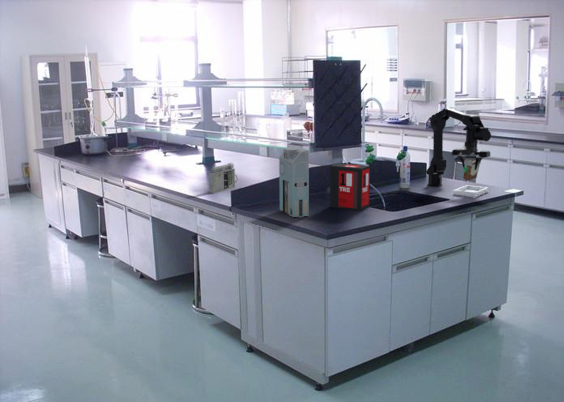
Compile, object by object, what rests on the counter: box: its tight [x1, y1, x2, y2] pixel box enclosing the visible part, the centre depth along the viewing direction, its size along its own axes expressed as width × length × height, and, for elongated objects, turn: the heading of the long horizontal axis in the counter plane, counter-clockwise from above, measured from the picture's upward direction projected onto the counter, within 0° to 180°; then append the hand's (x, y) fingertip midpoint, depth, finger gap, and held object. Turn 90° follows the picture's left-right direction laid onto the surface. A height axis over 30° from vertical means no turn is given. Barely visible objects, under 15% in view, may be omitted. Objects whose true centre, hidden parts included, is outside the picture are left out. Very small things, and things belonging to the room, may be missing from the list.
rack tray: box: [452, 184, 489, 199], centre depth 332 cm, size 12×18×2 cm, turn 142°
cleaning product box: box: [329, 162, 371, 212], centre depth 302 cm, size 16×9×20 cm, turn 58°
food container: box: [462, 157, 481, 182], centre depth 331 cm, size 12×6×10 cm, turn 142°
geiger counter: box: [206, 162, 239, 194], centre depth 348 cm, size 14×6×25 cm
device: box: [278, 145, 310, 218], centre depth 288 cm, size 16×8×30 cm, turn 21°
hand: (470, 169), depth 330 cm, fingers closed on food container, 6 cm apart
